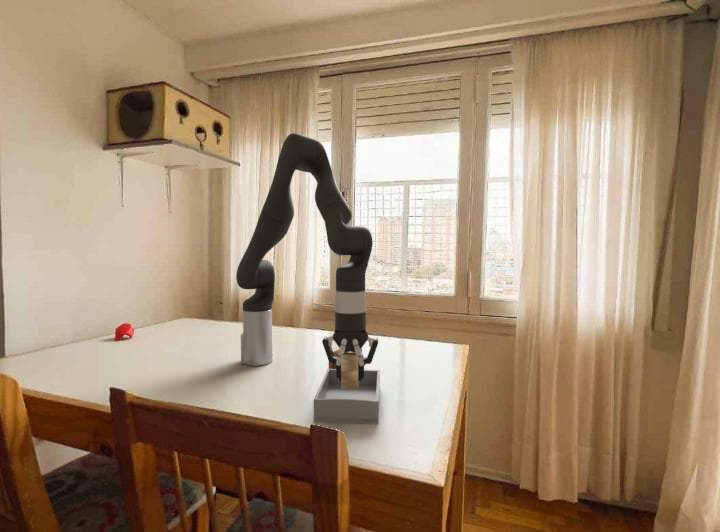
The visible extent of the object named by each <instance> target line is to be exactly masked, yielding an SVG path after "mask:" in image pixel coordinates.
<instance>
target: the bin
mask: <svg viewBox="0 0 720 532" xmlns="http://www.w3.org/2000/svg"><path fill="white" fill-rule="evenodd" d="M380 376H381V370H380V369H378V370H376V369H364V378H363V379H361V381H359V386H358V389H341V381H339V378H337V376H336V369H329V368H327V370H326V372H325V374H324V376H323V378H322V381H321V383H320V385H319V387H318V390H317V391H316V394H315V396H314V397H313V423H335V424H337V423H338V424H362V425H363V424H364V425H379V419H380V418H379V417H380V416H379V413H380V389H381V388H380V387H381V386H380V383H381V381H380V379H381V378H380Z"/></svg>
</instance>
